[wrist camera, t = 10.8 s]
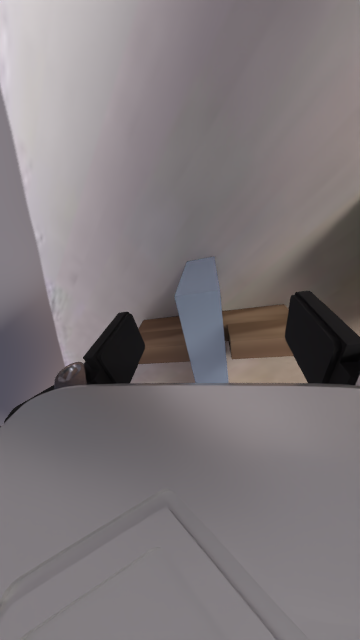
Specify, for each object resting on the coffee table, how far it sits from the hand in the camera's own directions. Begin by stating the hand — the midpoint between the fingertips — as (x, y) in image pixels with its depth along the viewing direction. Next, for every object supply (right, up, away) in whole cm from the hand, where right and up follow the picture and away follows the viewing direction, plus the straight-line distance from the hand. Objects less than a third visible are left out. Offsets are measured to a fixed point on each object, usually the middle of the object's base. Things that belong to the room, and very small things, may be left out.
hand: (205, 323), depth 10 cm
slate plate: (+2, 0, +12) cm, 13 cm away
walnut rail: (+2, 0, +12) cm, 13 cm away
